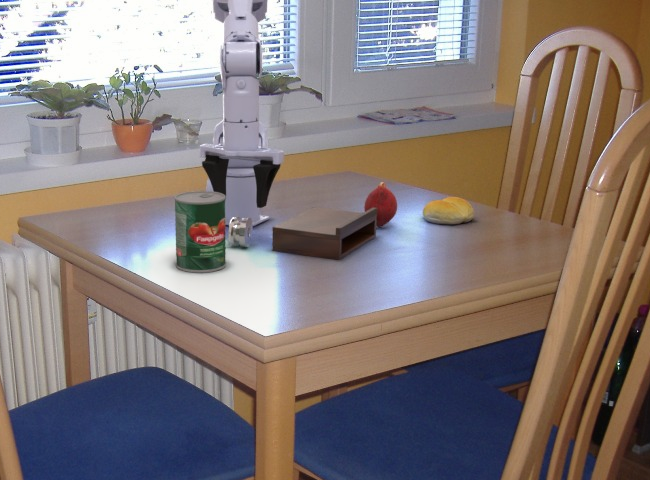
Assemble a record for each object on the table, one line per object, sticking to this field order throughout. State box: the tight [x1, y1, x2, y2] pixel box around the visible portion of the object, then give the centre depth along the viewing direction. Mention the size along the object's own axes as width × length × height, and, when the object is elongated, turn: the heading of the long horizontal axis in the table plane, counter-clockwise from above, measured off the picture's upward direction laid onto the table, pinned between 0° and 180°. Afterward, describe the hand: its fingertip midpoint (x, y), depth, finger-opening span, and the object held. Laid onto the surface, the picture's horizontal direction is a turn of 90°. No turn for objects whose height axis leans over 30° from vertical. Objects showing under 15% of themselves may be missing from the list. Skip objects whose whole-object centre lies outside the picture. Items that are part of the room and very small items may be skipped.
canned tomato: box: [174, 190, 227, 274], centre depth 160 cm, size 8×8×11 cm
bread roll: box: [422, 196, 475, 225], centre depth 187 cm, size 8×9×4 cm
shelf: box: [271, 207, 377, 261], centre depth 172 cm, size 12×16×5 cm
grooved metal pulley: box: [227, 216, 254, 248], centre depth 171 cm, size 5×3×5 cm, turn 163°
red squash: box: [363, 181, 398, 228], centre depth 182 cm, size 6×6×8 cm
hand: (241, 204), depth 170 cm, fingers open, 7 cm apart
